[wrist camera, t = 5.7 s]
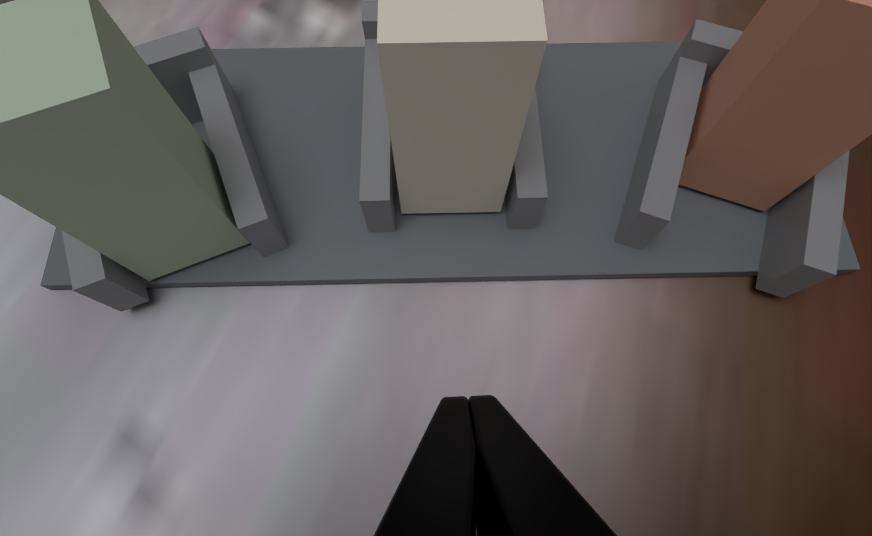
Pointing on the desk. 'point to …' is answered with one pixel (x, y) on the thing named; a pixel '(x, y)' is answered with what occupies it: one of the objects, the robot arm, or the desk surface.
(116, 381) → the desk surface
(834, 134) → the terracotta box
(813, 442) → the desk surface
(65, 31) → the sage box
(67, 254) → the grey three-slot stand
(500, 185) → the cream box
